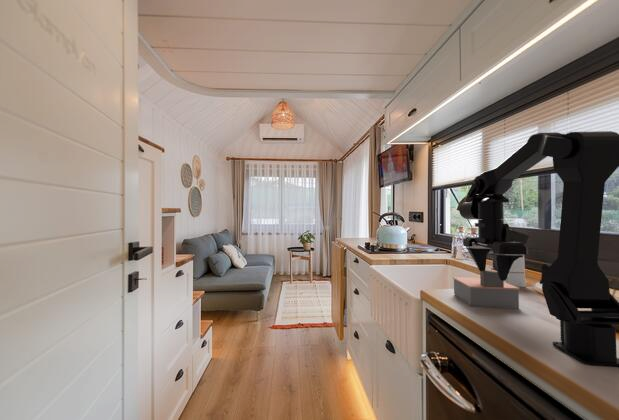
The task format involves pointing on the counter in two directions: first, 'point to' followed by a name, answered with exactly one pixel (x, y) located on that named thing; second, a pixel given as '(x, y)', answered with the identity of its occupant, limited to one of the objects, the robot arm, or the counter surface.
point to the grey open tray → (487, 296)
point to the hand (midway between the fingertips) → (492, 276)
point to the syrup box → (517, 273)
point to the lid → (486, 281)
